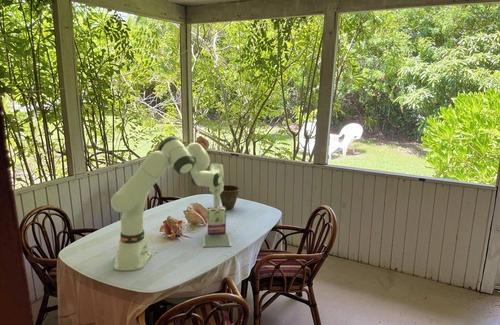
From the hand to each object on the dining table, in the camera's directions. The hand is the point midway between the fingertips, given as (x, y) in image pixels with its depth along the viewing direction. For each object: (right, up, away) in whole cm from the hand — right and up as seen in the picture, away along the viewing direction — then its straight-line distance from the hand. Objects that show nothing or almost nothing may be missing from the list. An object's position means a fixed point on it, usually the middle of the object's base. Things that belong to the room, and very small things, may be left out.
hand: (216, 208), depth 225 cm
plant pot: (+6, -5, +38) cm, 39 cm away
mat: (+2, -17, -16) cm, 24 cm away
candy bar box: (+1, -15, -5) cm, 16 cm away
